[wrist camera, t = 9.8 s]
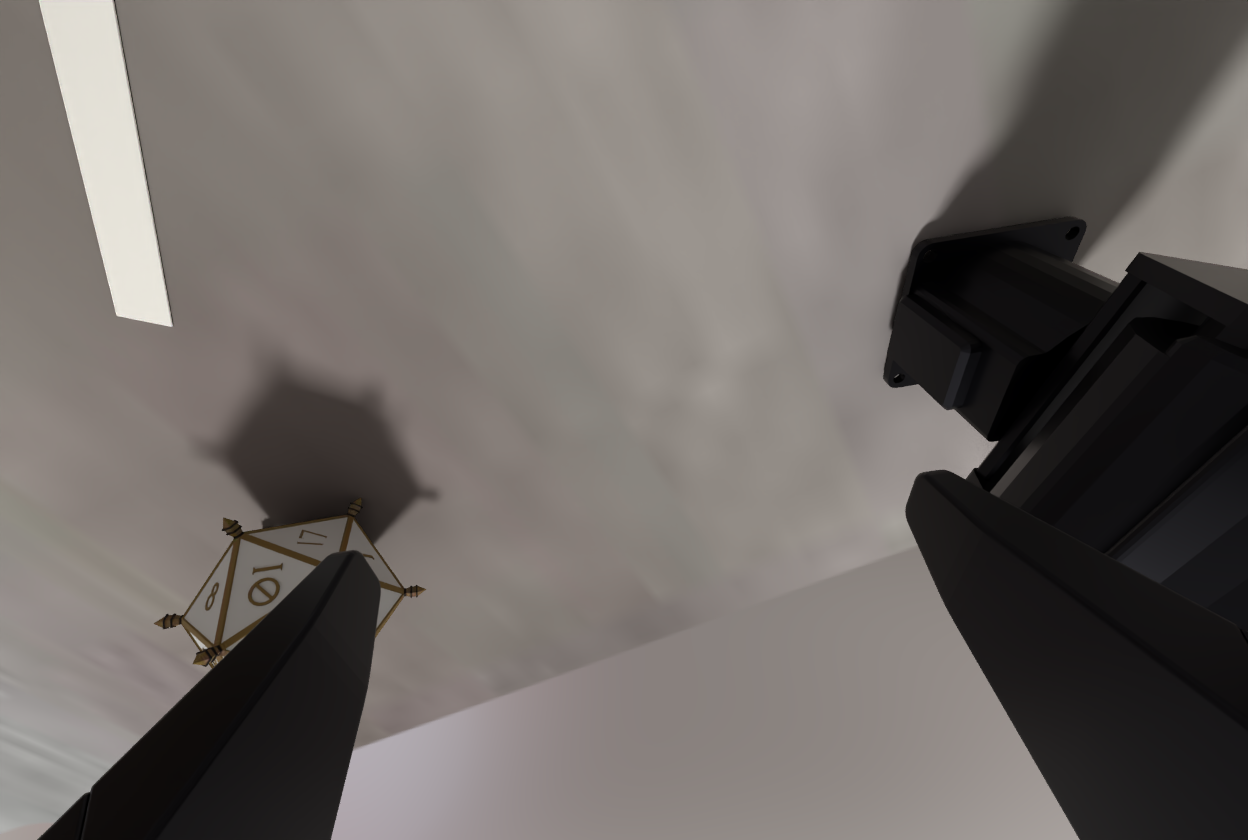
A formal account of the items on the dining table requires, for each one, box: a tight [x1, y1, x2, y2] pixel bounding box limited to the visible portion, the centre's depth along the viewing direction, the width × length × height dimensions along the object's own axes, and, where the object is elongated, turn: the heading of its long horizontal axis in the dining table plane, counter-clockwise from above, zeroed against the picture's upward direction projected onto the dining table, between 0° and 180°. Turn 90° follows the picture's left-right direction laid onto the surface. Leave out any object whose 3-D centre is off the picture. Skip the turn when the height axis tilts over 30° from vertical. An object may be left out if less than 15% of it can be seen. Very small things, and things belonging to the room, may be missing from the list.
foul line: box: [39, 0, 173, 327], centre depth 13 cm, size 18×2×1 cm, turn 161°
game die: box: [154, 498, 426, 668], centre depth 22 cm, size 9×8×10 cm
